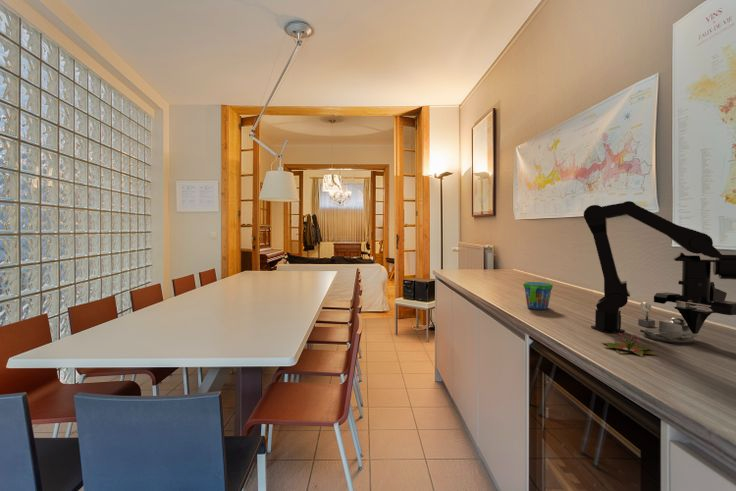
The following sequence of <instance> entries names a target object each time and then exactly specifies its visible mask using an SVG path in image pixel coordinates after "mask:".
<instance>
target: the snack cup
mask: <svg viewBox="0 0 736 491" xmlns="http://www.w3.org/2000/svg"><path fill="white" fill-rule="evenodd" d="M553 287H554V286H553V283H550V282H543V281H542V282H541V281H525V282H523V288H524V293H525V300H526V306H527V308H529V309H532V310H540V311H544V310H547V309H548V308H549V304H550V299H551V295H552V294H551V293H552V290H553Z"/></svg>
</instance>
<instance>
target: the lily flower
mask: <svg viewBox="0 0 736 491" xmlns="http://www.w3.org/2000/svg"><path fill="white" fill-rule="evenodd" d="M623 333H624V335H625V336H624V335H622V332H619V335H620V336H622V337H623V338H624V339H625V340H624V339H623V338H622V337H620V338H619V339H620V341H614V342H603V344H604V345H607V346H605V347H604V349H615V351H616V352H617V353H618V354H619V353H620V354H619V355H621V354H633V353H634V354H636V355H638V356H640V357H641V358H643V355H644V354H645V355H653V356H660V355H659V354H657V353H655V352H653V351H652V349H651V348H649V347H646V346H643V345H640V344H637V343H639V342H640V340H639V338H636V337H637V335H636V334H633V335H632V336H631V335H630V337H629V338H628V336H627V334H626V331H625V332H623ZM634 338H636V340H635V341H634V340H633V339H634ZM619 349H620V350H621V351H622V350H624V351H625V349H626V350H627V351H628V352H622V353H621V351H620V350H619Z"/></svg>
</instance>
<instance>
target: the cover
mask: <svg viewBox="0 0 736 491" xmlns="http://www.w3.org/2000/svg"><path fill="white" fill-rule="evenodd" d="M658 322H659V324H658V325H659V326H658V328H659V329H660V330H664V331H667V332H671V333H675V334H679V335H689V334H693V333H692V332H691V330H690V328H689V327H688V325H687V323H686V321H685V320H684V318H683V317H676V316H673V317H671V318H670V319H665V320H663V319H661V320H659V321H658Z"/></svg>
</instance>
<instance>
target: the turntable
mask: <svg viewBox="0 0 736 491" xmlns="http://www.w3.org/2000/svg"><path fill="white" fill-rule="evenodd" d="M639 332H641V333H642V336H643V337H644V338H647V339H649V340H652V341H657V342H660V343H661V342H662V343H666V344H674V345H691V344H694V339H695V338H697V334H689V335H679V334H675V333H671V332H667V331H664V330H660V329H659V327H653V328H642V329H641V328H640V329H639Z"/></svg>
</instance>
